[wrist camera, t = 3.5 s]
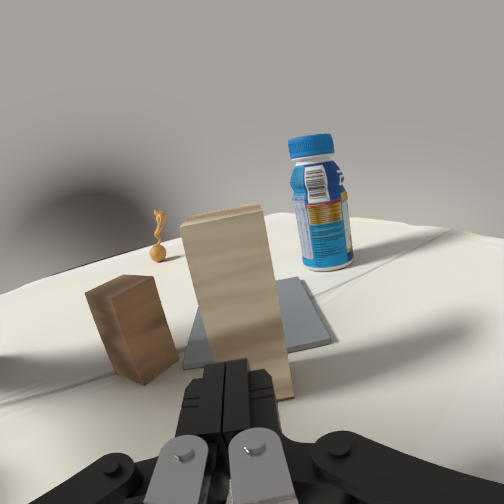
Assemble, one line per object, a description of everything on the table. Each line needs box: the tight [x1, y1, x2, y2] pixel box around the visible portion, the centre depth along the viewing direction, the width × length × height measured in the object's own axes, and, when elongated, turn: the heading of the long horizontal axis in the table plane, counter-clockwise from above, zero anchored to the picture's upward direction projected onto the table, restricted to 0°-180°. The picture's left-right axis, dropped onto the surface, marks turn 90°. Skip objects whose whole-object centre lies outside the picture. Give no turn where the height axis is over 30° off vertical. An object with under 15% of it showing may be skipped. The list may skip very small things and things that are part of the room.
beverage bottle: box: [288, 134, 354, 271], centre depth 48 cm, size 8×8×20 cm
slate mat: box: [182, 277, 331, 369], centre depth 37 cm, size 18×14×1 cm
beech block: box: [179, 203, 294, 401], centre depth 23 cm, size 5×5×14 cm
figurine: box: [150, 210, 166, 262], centre depth 73 cm, size 8×6×12 cm
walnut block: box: [85, 275, 179, 386], centre depth 29 cm, size 5×5×9 cm
